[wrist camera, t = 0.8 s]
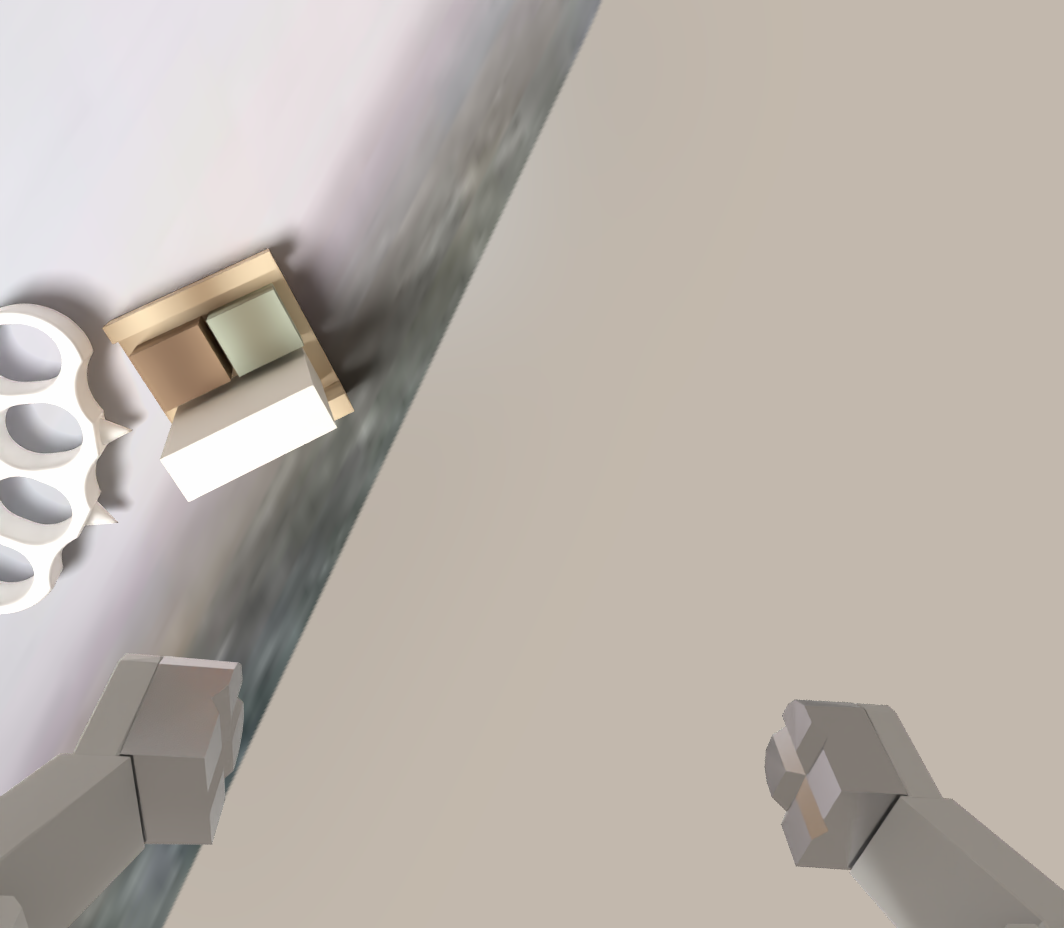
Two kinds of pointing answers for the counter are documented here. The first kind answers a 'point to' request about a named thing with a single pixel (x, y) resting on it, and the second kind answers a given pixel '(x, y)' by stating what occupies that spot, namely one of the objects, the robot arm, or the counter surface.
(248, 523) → the counter surface
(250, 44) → the counter surface
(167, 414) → the oak rack
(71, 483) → the knuckle duster
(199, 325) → the offcuts
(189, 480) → the cream board
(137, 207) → the counter surface
